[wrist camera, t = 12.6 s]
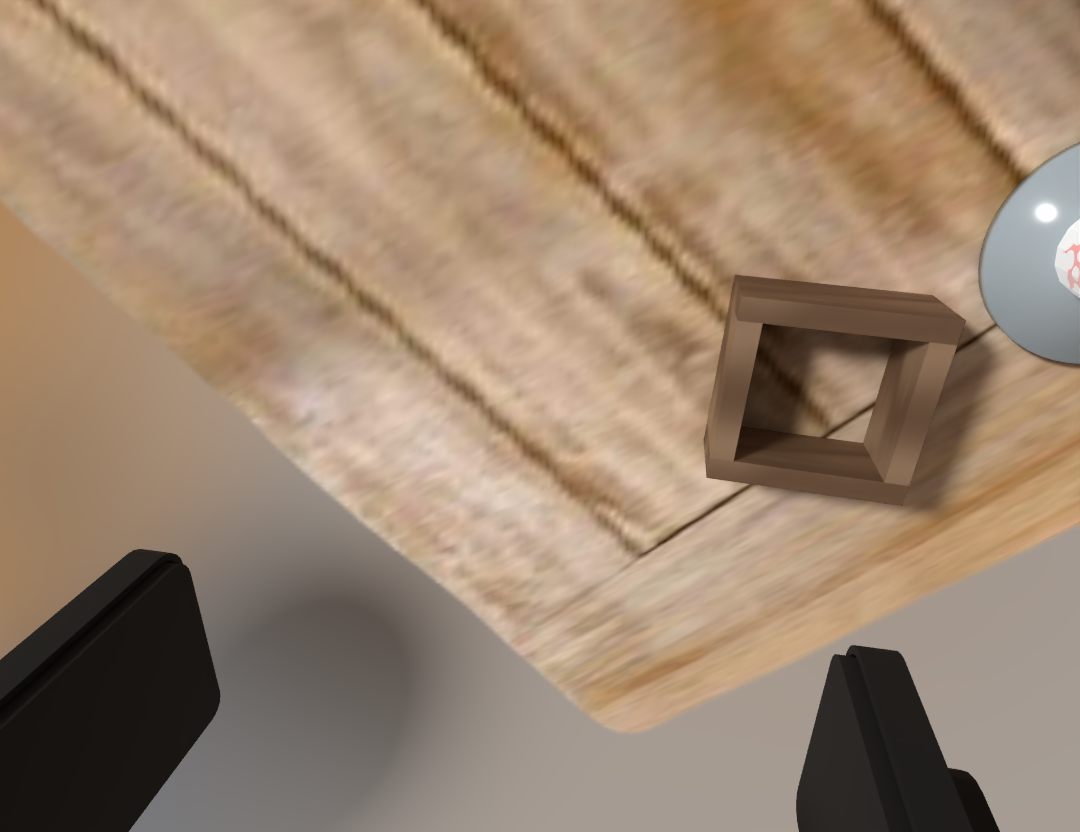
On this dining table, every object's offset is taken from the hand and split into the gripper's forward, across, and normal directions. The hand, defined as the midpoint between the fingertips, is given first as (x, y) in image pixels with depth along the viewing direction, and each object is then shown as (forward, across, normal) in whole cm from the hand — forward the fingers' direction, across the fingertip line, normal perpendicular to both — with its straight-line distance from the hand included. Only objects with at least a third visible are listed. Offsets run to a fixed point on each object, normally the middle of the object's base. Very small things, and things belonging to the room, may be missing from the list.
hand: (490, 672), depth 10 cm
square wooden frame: (+31, -10, +6) cm, 33 cm away
